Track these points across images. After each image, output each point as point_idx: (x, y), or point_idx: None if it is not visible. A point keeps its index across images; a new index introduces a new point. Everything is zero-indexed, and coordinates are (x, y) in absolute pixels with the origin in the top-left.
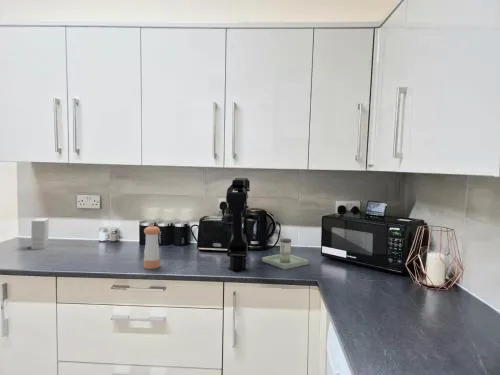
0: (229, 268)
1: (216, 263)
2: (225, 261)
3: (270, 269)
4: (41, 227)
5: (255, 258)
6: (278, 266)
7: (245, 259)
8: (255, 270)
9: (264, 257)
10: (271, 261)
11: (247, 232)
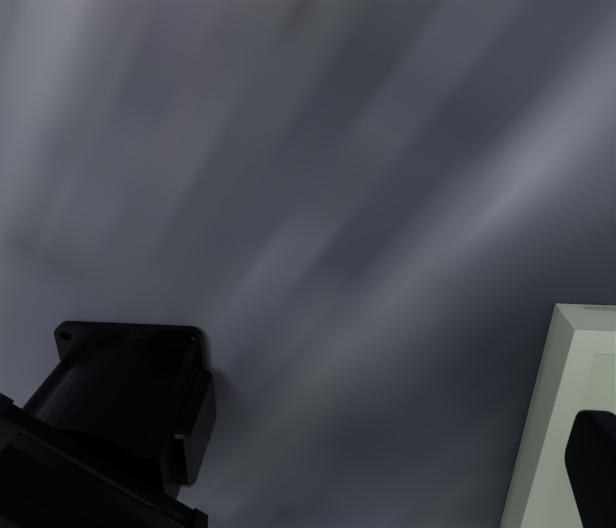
0: (59, 355)
1: (6, 79)
2: (153, 59)
3: (404, 509)
4: None
5: (599, 159)
6: (505, 521)
7: (185, 484)
8: (273, 469)
9: (587, 350)
10: (532, 463)
11: (607, 465)
